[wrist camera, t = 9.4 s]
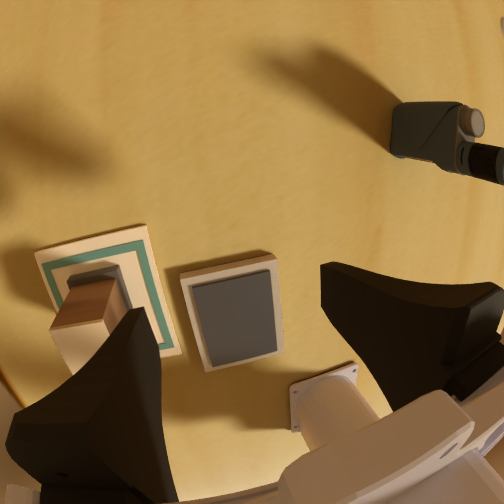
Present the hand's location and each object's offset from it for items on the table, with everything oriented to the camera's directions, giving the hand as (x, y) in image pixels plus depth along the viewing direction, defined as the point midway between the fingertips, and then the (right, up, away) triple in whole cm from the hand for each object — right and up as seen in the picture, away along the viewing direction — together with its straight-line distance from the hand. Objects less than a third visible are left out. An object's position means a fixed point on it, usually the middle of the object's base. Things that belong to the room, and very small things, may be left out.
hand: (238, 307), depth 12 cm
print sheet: (-10, -2, +9) cm, 14 cm away
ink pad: (-1, -3, +12) cm, 12 cm away
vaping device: (+13, +12, +10) cm, 21 cm away
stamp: (-10, -1, +8) cm, 13 cm away
